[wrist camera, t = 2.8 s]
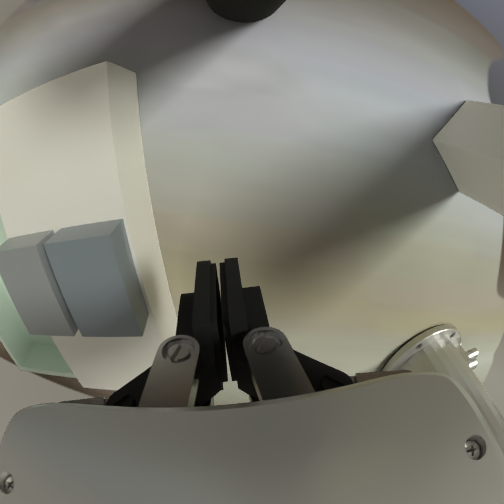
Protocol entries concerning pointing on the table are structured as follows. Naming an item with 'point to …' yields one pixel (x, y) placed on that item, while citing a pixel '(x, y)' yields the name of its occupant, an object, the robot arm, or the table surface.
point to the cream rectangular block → (87, 198)
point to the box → (27, 338)
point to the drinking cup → (245, 9)
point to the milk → (476, 152)
